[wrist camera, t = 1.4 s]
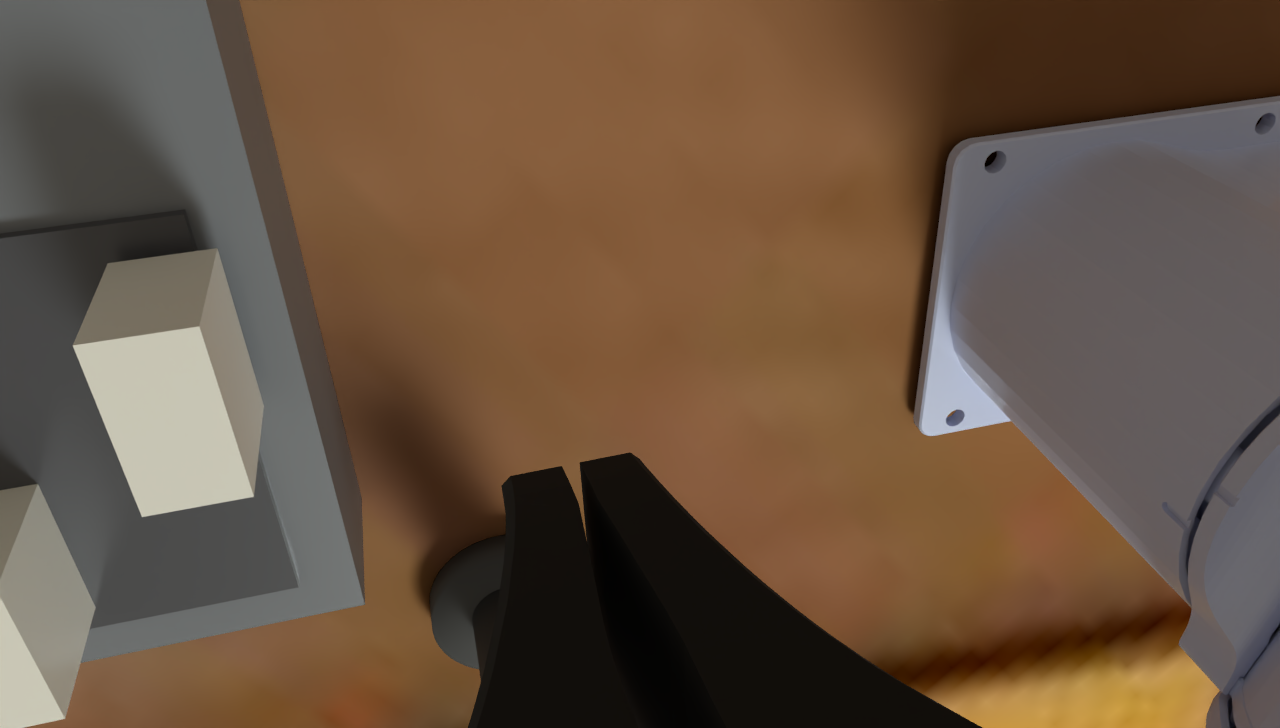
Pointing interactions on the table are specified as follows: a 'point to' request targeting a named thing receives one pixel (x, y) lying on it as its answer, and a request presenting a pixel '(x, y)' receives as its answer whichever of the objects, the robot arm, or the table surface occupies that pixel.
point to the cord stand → (468, 601)
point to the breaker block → (57, 304)
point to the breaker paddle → (173, 381)
